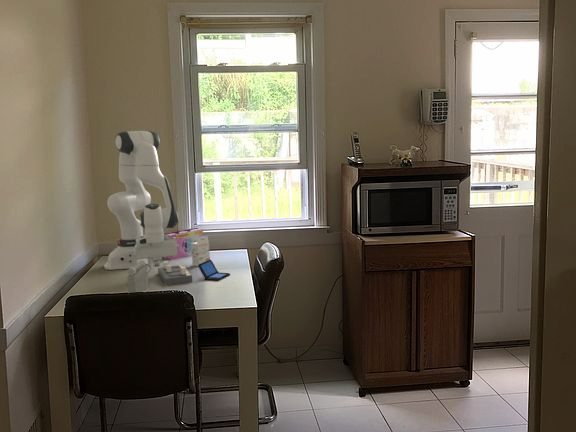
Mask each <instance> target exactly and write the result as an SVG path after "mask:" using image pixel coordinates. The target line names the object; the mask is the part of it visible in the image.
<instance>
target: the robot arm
mask: <svg viewBox="0 0 576 432" xmlns="http://www.w3.org/2000/svg"><path fill="white" fill-rule="evenodd" d="M114 141H115V149H117V150H118V152H119V156H118V179H119V181H120V182H121V183H122V184H124V186H125V190H126V191H119V192H116V193H114V194H111V195H110V196H108V198H107V201H106V202H107V203H106V204H107V207H108V210H109V211H110V212H111V213H112V214H114V215H115V217H116V218H117V221H118V222H119V223H118V224H119V226H120V236H121V238H117V239H116V241H115V242H116V243H117V247H116V248H114V250H112V251H111V252H110V253H109V255H108V259H107V262H106V263H104V265H103V268H104V270H108V271H109V270H110V271H111V270H123V269H130V268H131V267H134V265H136V264H137V263H138V262H140V261H141V260H143V261H144V262H145V264H148V265H149V260H148V259H150V261H151V262H152V263H153V264H152V265H153V268H156V267H160V266H161V265H160V264H161V262H162V259H163V258H164V257H166V256H175V255H176V254H177V248H176V244H177V239H176V238H175V237H164V233H165V232H164V231H165V230H164V229H165V228H166V229H175V227H176V226H177V225H178V224H179V214H178V211H177V209H176V204H175V202H174V201H175V200H174V197H173V195H172V191H171V187H170V183H169V179H168V178H167V176H166V175H164V174H163V173H162V171H161V169H160V164H159V157H158V152H157V151H158V149H159V147H160V143H161V142H160V141H161V140H160V136H159V135H158V134H157V132H155V131H152V130H148V131H147V130H131V131H125V130H124V131H120V132H118V133H117V134H116V136H115V140H114ZM143 183H144V184H146V185H149V186H152V187H155V188H157V189H159V190H160V191H161V192H162V195H163V200H164V204H165V207H164V208H163V207H161V205H159V204H158V203H157V204H156V203H151V202H152V197H151V194H150V192H149V191H147V190H146V188H145V186H144V184H143ZM141 210H142V211H141ZM139 211H141V212H140V213H139V217H140V219H138V218H137V217H136V215H135V212H139ZM144 229H145V230H144ZM143 230H144V231H143ZM173 238H175V239H173ZM155 258H158V261H156V262H155V261H154V260H155ZM145 264H144V265H143V266H146V265H145Z"/></svg>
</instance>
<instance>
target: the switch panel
mask: <svg viewBox="0 0 576 432" xmlns="http://www.w3.org/2000/svg"><path fill="white" fill-rule="evenodd" d="M180 267H185V266H184V264H180V265H178V264H177V265H171V269H172V272H167V271H166V269H164V266H163V267H162V266H161V267H160V266H159V267H158V268H157V274H158V276H159V277H160V279H161V280H162V281H163V283H164V284H165V286H171V285H179V284H187V283H193V275H192V273H191V272H190V271H189V270H188V269H186V274H185V275H182V274H181V268H180Z"/></svg>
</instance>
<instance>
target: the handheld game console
mask: <svg viewBox="0 0 576 432" xmlns="http://www.w3.org/2000/svg"><path fill="white" fill-rule="evenodd" d="M197 267H198V269H199V270H200V272H201V275H202V276H203V278H204V281H210V282H219V281H222V280H224V279H225V278H227V277H230V276H231V273H229V272H219V271H218V269H217V267H216V266H215V264H214V263H213V260H211V259H210V260H208V261H206V262H203V263H201V264H199V265H198V266H197Z"/></svg>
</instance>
